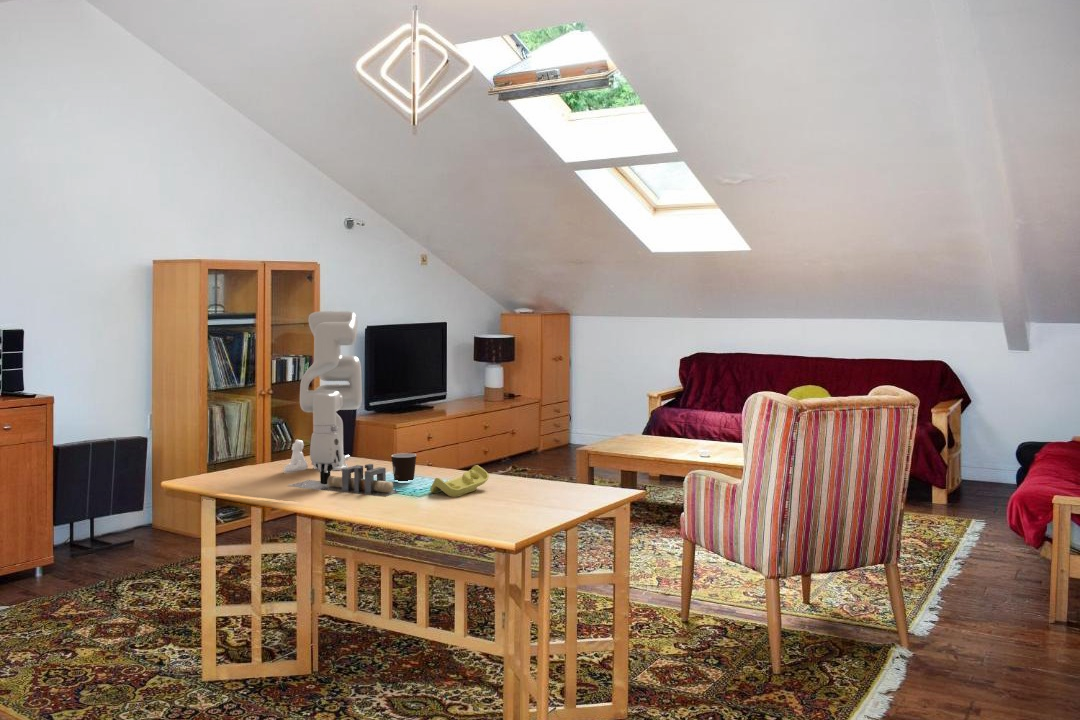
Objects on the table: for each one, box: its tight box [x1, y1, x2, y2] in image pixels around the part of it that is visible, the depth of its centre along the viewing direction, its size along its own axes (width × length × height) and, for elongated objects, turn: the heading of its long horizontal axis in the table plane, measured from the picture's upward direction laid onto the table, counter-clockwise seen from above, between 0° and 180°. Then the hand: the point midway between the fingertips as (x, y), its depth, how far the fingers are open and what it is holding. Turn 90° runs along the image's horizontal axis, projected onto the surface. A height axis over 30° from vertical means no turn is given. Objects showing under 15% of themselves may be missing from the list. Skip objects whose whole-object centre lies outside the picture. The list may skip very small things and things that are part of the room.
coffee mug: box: [390, 452, 417, 481], centre depth 334 cm, size 12×9×10 cm
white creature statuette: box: [283, 439, 309, 474], centre depth 356 cm, size 10×9×12 cm
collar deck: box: [287, 463, 403, 498], centre depth 321 cm, size 12×40×9 cm, turn 65°
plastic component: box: [429, 464, 490, 498], centre depth 321 cm, size 20×7×10 cm
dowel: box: [327, 475, 394, 493], centre depth 319 cm, size 24×4×4 cm, turn 65°
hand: (325, 483), depth 325 cm, fingers closed
